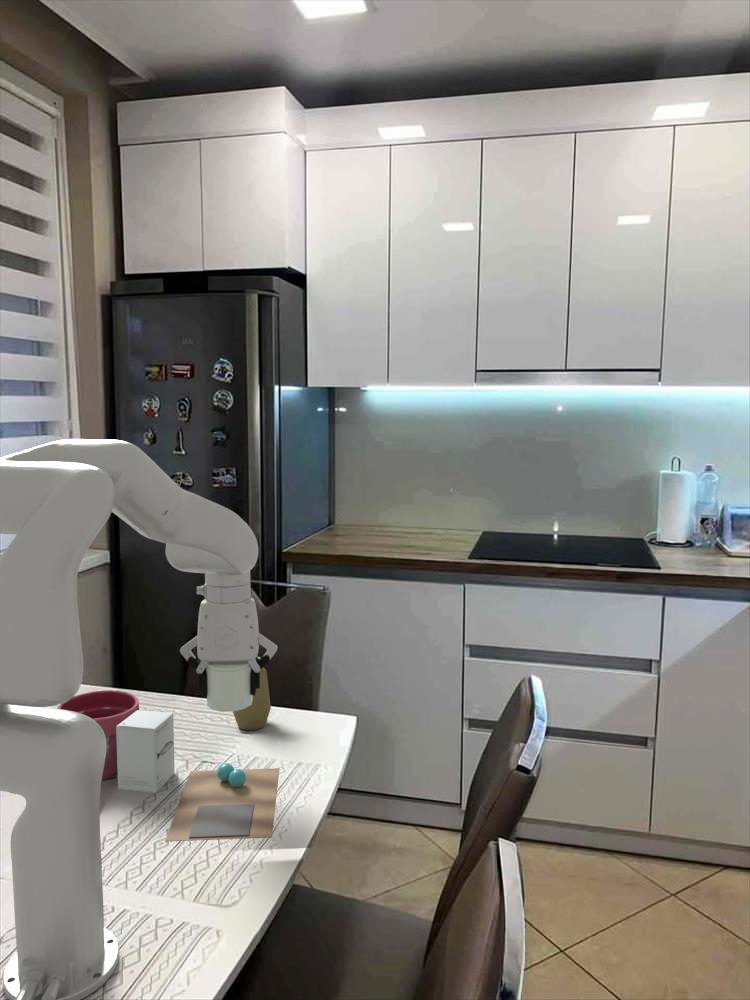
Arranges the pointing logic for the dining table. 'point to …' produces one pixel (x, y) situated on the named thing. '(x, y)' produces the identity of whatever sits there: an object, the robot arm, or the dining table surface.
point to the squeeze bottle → (256, 707)
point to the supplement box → (145, 751)
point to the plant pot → (105, 718)
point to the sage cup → (228, 685)
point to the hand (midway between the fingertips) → (229, 692)
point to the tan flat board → (225, 807)
